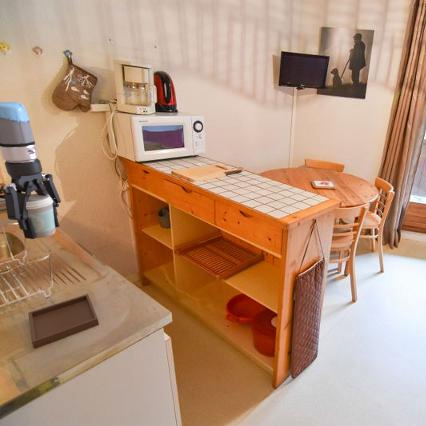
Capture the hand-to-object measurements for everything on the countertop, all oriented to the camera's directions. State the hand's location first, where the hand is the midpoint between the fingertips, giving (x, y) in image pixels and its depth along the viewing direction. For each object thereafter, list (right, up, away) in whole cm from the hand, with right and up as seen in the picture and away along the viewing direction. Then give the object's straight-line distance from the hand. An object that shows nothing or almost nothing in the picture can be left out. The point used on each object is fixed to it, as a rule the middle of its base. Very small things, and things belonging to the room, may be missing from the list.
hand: (43, 231), depth 98 cm
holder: (+17, -23, -13) cm, 32 cm away
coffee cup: (0, -1, 0) cm, 1 cm away
